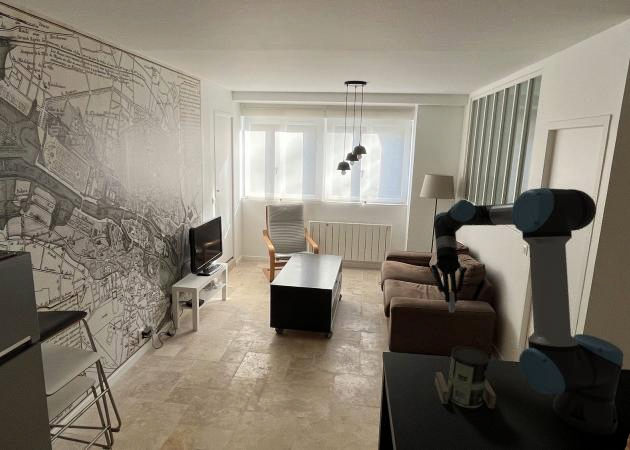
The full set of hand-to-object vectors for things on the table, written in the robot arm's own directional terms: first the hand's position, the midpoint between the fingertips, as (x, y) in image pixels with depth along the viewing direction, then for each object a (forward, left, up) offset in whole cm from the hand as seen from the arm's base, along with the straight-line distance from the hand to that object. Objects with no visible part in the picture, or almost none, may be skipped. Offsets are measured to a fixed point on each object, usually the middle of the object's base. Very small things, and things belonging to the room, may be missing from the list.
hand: (452, 310), depth 138 cm
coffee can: (0, +22, -18) cm, 29 cm away
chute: (0, +21, -18) cm, 28 cm away
